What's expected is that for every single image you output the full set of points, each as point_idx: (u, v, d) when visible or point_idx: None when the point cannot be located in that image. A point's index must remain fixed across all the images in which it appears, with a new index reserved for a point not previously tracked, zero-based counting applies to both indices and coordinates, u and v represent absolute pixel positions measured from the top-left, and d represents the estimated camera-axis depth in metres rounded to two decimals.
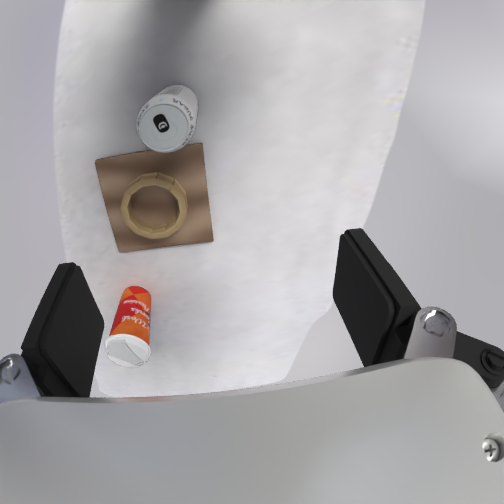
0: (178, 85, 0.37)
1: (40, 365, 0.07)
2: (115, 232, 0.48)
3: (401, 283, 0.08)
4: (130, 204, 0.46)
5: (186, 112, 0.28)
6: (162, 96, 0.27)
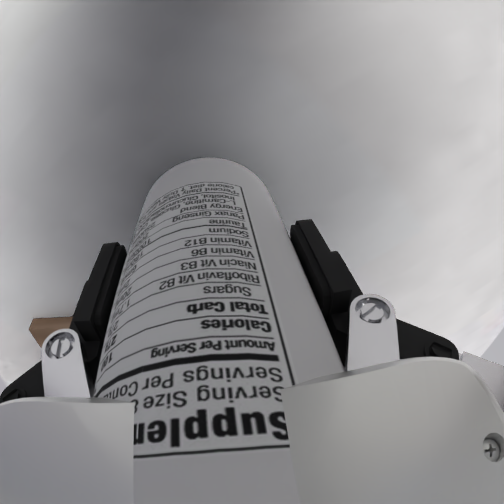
0: (218, 164, 0.12)
1: (91, 339, 0.08)
2: None
3: (339, 270, 0.09)
4: None
5: None
6: None
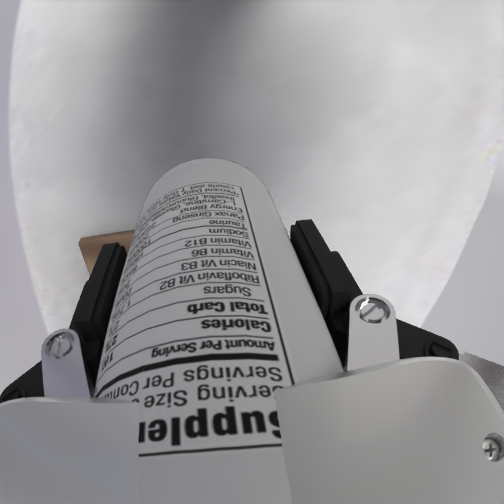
0: (218, 165, 0.12)
1: (91, 339, 0.08)
2: None
3: (339, 270, 0.09)
4: None
5: None
6: None
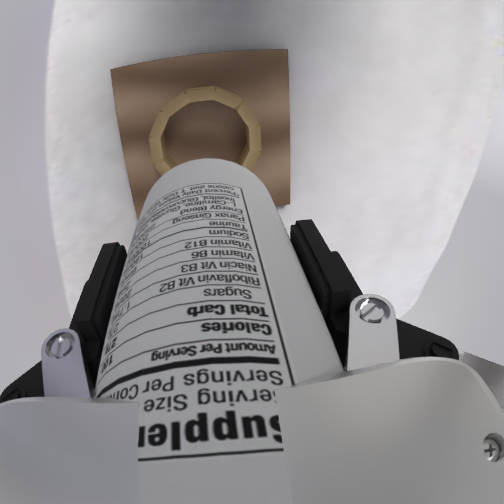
0: (218, 165, 0.12)
1: (91, 339, 0.08)
2: (134, 188, 0.30)
3: (339, 270, 0.09)
4: (163, 138, 0.27)
5: None
6: None
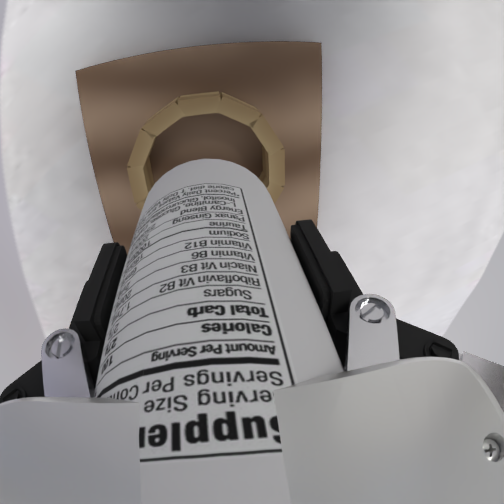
0: (218, 166, 0.12)
1: (91, 339, 0.08)
2: (114, 229, 0.23)
3: (339, 270, 0.09)
4: (149, 165, 0.20)
5: None
6: None
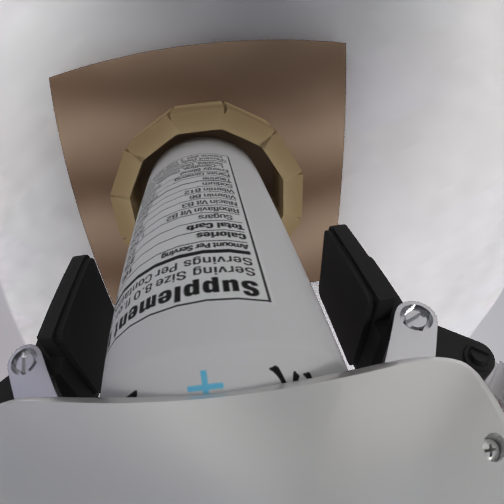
0: (209, 141, 0.14)
1: (56, 356, 0.07)
2: (101, 262, 0.20)
3: (381, 278, 0.08)
4: (138, 191, 0.17)
5: None
6: (206, 355, 0.05)
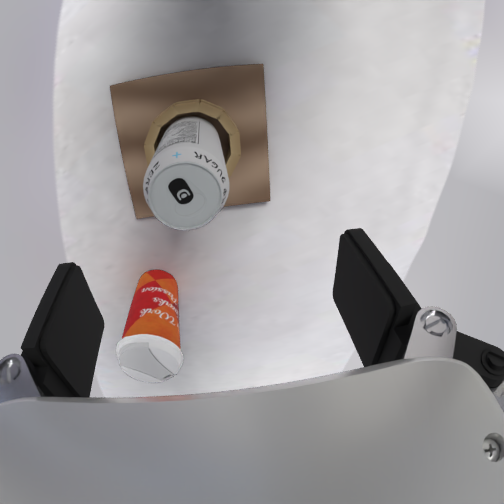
0: (192, 117, 0.29)
1: (40, 365, 0.07)
2: (132, 189, 0.34)
3: (401, 283, 0.08)
4: (157, 145, 0.32)
5: (216, 172, 0.20)
6: (178, 148, 0.20)
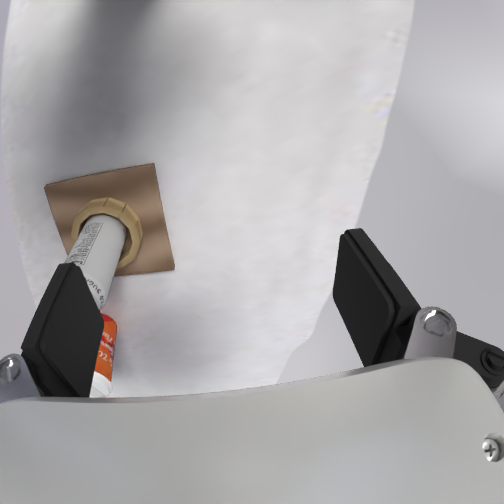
0: (101, 215, 0.38)
1: (40, 365, 0.07)
2: None
3: (401, 283, 0.08)
4: None
5: (92, 288, 0.29)
6: None
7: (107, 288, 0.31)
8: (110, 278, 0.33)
